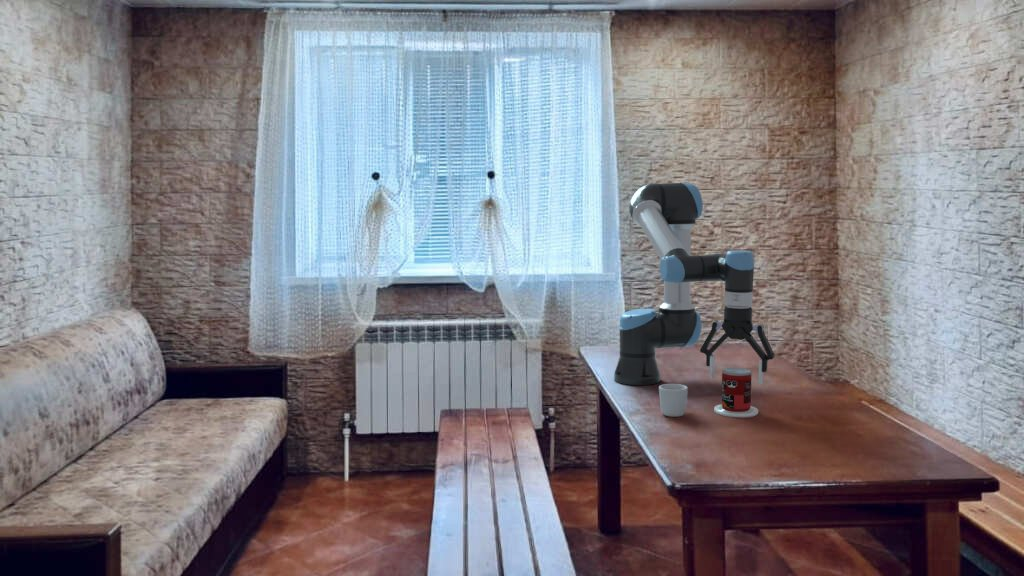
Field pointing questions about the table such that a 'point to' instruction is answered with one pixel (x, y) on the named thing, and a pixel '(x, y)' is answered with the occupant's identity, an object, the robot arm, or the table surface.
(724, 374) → the canned food
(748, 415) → the plate
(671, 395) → the cup
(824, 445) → the table surface
